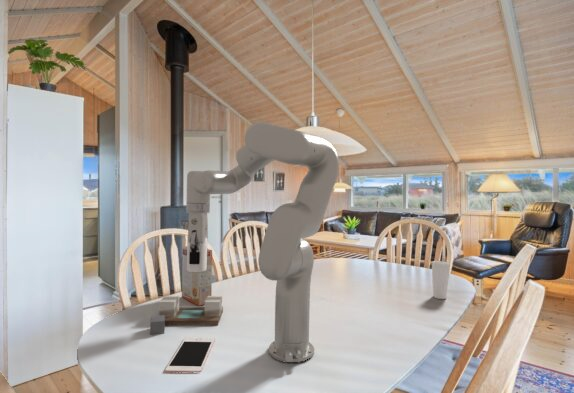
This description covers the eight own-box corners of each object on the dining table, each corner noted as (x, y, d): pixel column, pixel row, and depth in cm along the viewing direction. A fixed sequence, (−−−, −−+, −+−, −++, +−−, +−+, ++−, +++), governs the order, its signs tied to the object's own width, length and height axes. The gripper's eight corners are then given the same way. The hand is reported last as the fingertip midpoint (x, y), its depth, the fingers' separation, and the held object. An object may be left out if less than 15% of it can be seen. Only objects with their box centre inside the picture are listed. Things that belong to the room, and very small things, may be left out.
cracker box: (212, 303, 131) (213, 249, 130) (198, 306, 127) (198, 251, 126) (194, 294, 141) (195, 244, 141) (181, 297, 137) (181, 246, 136)
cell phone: (215, 340, 101) (215, 337, 101) (200, 374, 83) (200, 370, 83) (185, 340, 101) (185, 337, 100) (164, 374, 83) (164, 370, 82)
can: (186, 273, 109) (187, 236, 109) (186, 268, 116) (187, 233, 115) (207, 272, 111) (208, 236, 111) (206, 267, 118) (207, 233, 117)
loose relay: (164, 333, 104) (164, 320, 104) (150, 335, 103) (150, 322, 103) (164, 327, 109) (164, 314, 109) (151, 328, 108) (151, 316, 107)
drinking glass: (430, 298, 142) (431, 263, 141) (431, 294, 148) (432, 260, 147) (448, 301, 139) (449, 265, 138) (448, 296, 145) (450, 261, 144)
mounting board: (217, 325, 111) (218, 305, 111) (155, 325, 110) (155, 305, 109) (222, 311, 123) (223, 293, 123) (166, 311, 122) (167, 293, 121)
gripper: (204, 210, 104) (203, 268, 105) (213, 206, 121) (212, 256, 122) (179, 210, 104) (178, 267, 105) (192, 205, 121) (191, 255, 122)
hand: (196, 260), depth 113 cm, fingers closed on can, 6 cm apart
